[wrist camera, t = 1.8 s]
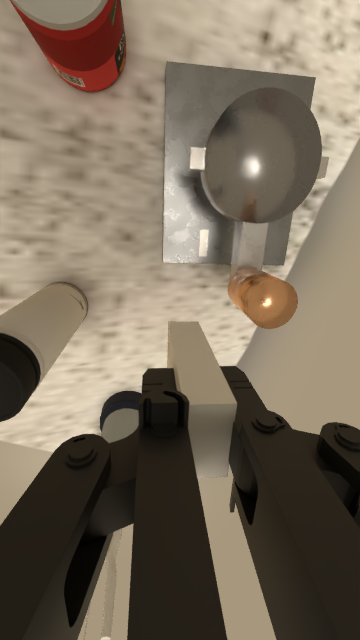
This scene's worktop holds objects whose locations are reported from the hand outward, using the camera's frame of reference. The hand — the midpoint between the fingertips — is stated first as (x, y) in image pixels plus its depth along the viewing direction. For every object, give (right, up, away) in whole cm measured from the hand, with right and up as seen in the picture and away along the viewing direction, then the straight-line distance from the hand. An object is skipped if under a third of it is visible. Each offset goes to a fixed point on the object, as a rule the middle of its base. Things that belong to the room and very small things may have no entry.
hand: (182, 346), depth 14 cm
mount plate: (+6, +19, +19) cm, 27 cm away
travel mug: (-16, +4, +22) cm, 27 cm away
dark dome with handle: (+7, +12, +13) cm, 19 cm away
